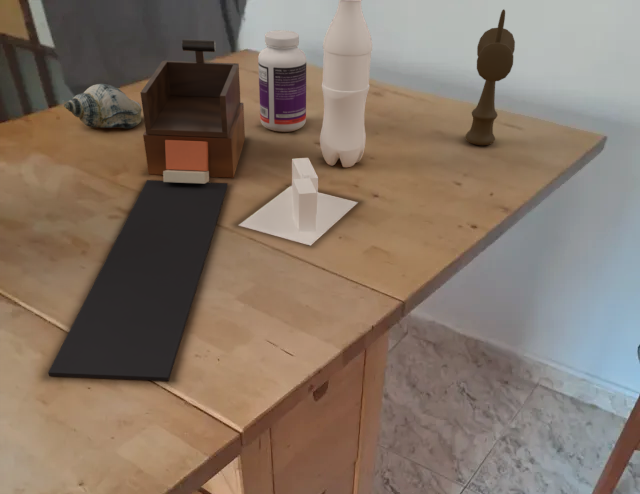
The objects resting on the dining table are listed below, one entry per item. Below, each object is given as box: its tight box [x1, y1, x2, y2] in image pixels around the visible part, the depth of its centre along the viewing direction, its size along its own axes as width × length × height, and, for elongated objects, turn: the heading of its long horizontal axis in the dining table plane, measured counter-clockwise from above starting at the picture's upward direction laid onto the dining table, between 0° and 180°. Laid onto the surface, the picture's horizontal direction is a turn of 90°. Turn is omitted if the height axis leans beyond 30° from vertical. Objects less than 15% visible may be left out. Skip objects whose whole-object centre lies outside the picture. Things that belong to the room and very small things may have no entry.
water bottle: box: [319, 0, 373, 168], centre depth 102 cm, size 7×7×25 cm
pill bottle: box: [257, 29, 307, 133], centre depth 116 cm, size 8×8×14 cm
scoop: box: [139, 38, 241, 138], centre depth 103 cm, size 16×12×9 cm
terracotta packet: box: [165, 140, 208, 171], centre depth 101 cm, size 4×6×2 cm
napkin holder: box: [238, 157, 359, 246], centre depth 94 cm, size 15×11×6 cm
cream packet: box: [162, 169, 210, 184], centre depth 101 cm, size 4×6×2 cm, turn 88°
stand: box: [142, 102, 246, 178], centre depth 108 cm, size 16×13×6 cm
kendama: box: [465, 8, 516, 146], centre depth 111 cm, size 6×10×20 cm, turn 168°
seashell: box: [63, 83, 143, 130], centre depth 117 cm, size 6×8×12 cm
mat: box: [47, 179, 229, 382], centre depth 85 cm, size 46×12×1 cm, turn 178°
